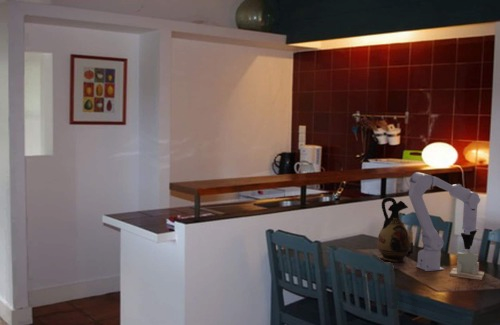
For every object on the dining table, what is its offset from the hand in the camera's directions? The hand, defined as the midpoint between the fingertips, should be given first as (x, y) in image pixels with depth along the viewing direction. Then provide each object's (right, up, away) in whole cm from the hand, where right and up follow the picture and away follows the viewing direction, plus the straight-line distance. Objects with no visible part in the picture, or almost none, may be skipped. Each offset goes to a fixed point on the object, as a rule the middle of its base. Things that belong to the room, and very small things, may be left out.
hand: (468, 247), depth 265 cm
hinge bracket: (-5, -10, -11) cm, 16 cm away
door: (-4, -9, -10) cm, 14 cm away
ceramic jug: (-32, -8, +14) cm, 35 cm away
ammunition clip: (-23, -7, +28) cm, 37 cm away
